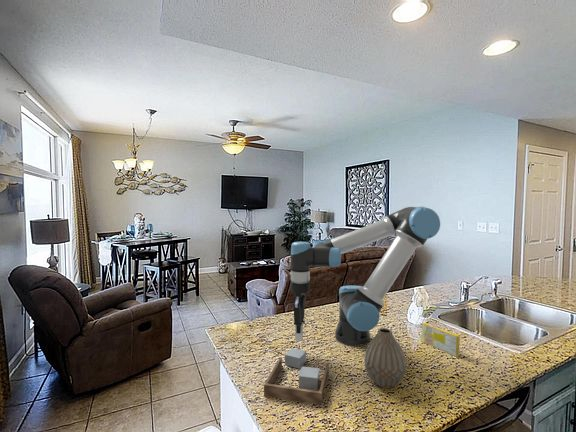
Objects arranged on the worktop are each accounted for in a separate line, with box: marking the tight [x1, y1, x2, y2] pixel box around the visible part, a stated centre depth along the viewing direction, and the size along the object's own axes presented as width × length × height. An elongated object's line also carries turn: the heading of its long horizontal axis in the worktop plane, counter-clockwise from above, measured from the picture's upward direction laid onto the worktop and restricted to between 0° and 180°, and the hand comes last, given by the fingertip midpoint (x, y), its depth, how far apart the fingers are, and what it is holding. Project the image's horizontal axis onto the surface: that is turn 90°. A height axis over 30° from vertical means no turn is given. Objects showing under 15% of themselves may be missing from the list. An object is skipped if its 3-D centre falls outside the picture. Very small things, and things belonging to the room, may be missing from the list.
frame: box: [263, 356, 330, 406], centre depth 102 cm, size 18×18×4 cm
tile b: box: [284, 347, 307, 370], centre depth 115 cm, size 6×6×4 cm
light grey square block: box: [298, 366, 320, 391], centre depth 102 cm, size 6×6×4 cm
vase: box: [363, 327, 407, 389], centre depth 102 cm, size 13×13×18 cm
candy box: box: [421, 322, 461, 358], centre depth 127 cm, size 16×2×8 cm, turn 28°
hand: (298, 339), depth 123 cm, fingers closed
